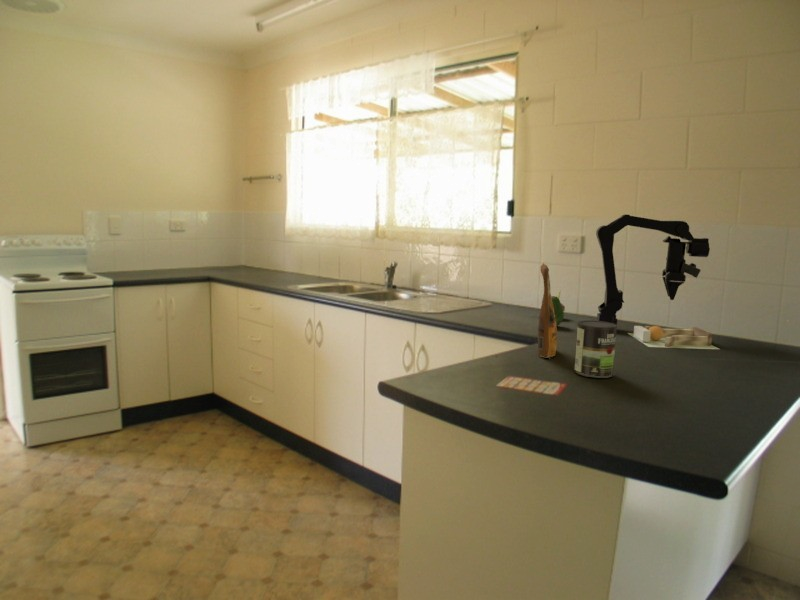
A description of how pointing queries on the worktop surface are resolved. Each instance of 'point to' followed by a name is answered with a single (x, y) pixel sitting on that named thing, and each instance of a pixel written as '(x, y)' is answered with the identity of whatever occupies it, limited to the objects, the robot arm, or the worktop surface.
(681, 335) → the wooden tray
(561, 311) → the fruit
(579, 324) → the coffee can
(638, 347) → the worktop surface
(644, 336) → the white block
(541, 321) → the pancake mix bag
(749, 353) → the worktop surface
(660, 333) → the ball
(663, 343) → the white flat square board
